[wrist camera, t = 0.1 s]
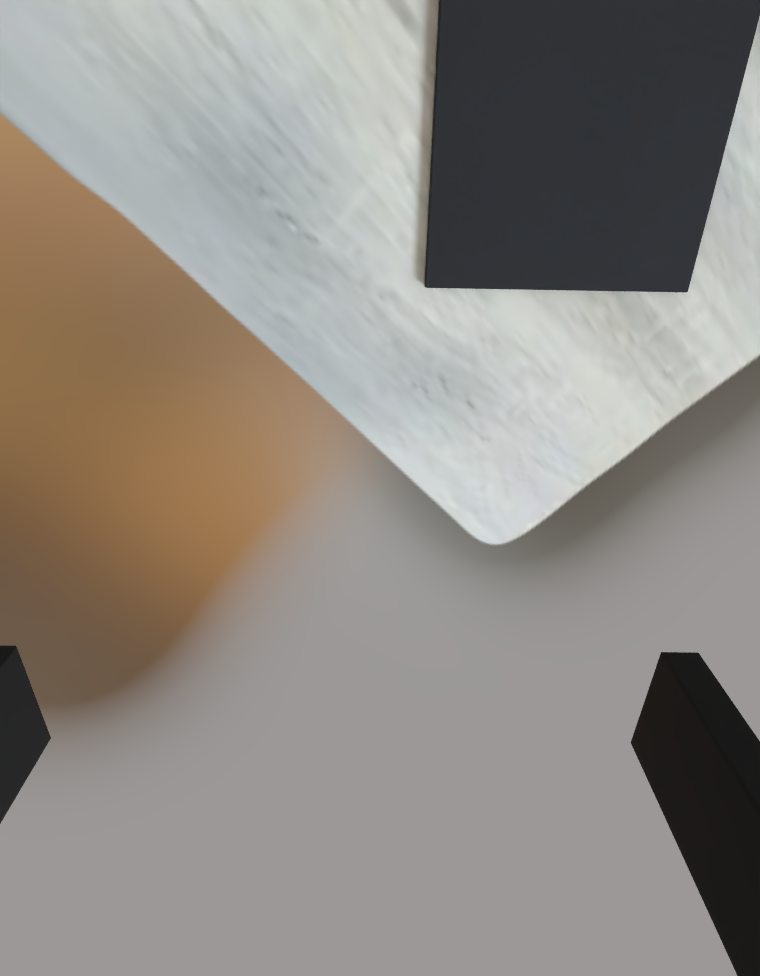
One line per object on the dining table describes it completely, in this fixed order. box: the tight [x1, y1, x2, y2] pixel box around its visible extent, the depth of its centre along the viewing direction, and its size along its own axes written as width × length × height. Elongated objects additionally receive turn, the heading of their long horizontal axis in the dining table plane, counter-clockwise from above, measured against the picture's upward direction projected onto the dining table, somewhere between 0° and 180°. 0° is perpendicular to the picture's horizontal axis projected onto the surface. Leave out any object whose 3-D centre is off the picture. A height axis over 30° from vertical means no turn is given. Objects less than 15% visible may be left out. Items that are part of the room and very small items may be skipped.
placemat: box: [425, 0, 760, 292], centre depth 30 cm, size 20×16×1 cm
